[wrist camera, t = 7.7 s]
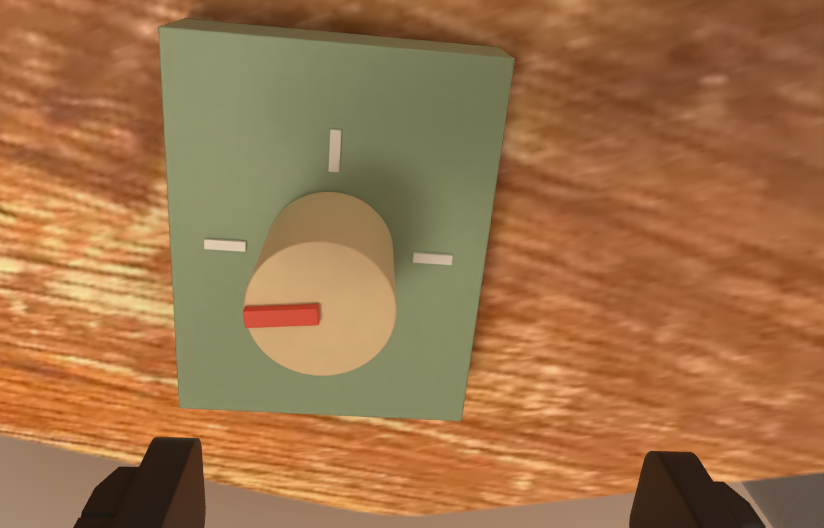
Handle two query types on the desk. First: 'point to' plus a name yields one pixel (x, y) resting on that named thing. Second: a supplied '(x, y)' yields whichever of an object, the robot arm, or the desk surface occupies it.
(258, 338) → the knob
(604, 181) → the desk surface
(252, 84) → the panel
